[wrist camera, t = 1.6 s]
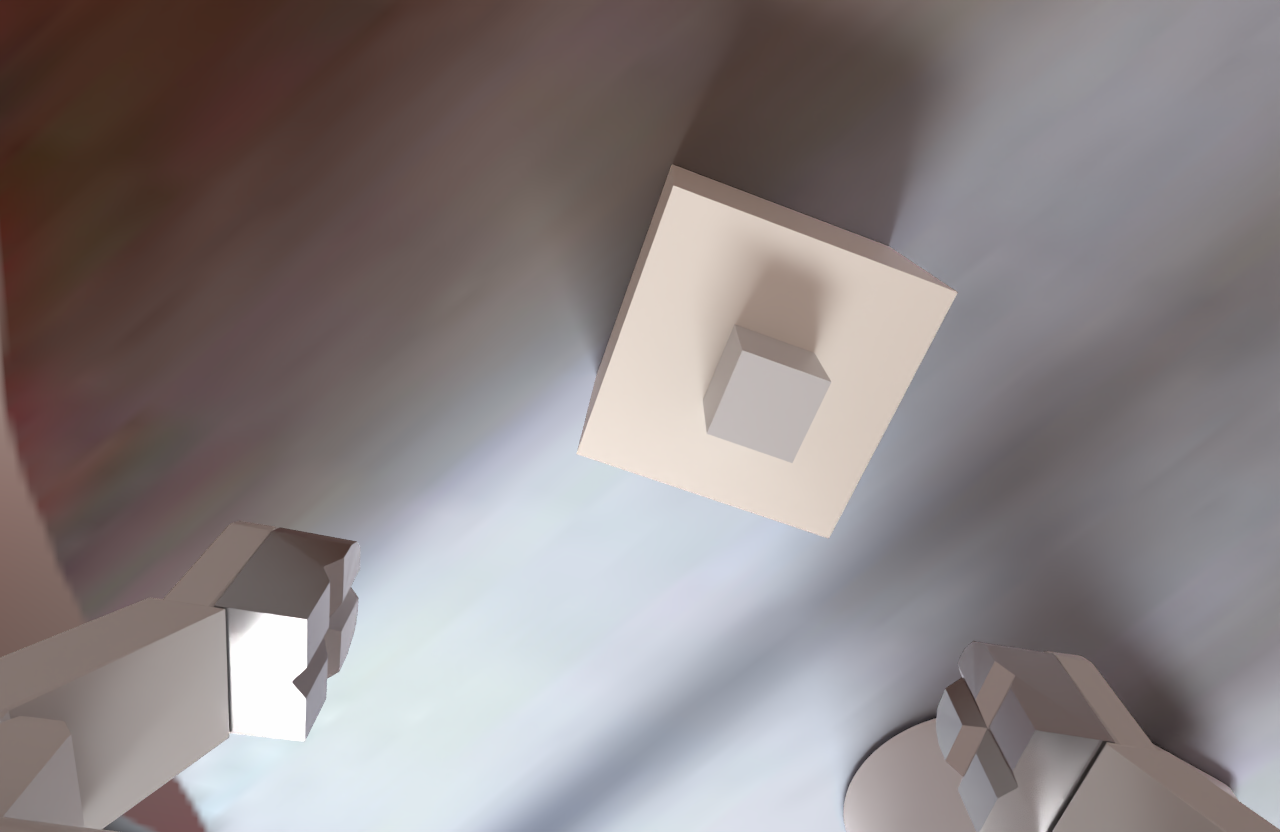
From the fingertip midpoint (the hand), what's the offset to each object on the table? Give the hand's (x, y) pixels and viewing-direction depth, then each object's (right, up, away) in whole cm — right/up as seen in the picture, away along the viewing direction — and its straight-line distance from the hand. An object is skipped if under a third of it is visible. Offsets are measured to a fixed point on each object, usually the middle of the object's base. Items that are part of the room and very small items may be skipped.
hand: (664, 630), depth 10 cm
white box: (+4, +8, +25) cm, 27 cm away
